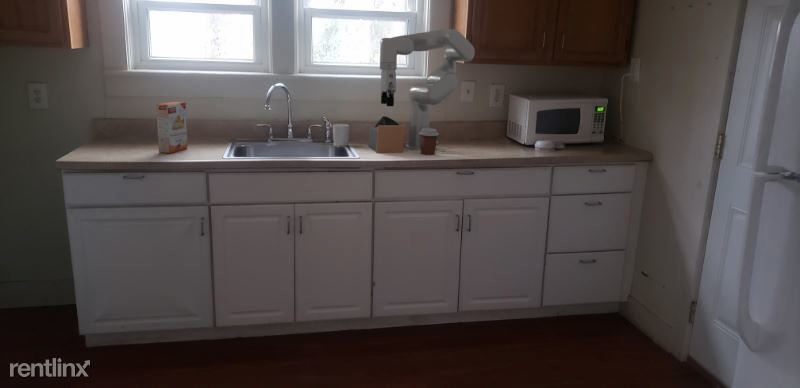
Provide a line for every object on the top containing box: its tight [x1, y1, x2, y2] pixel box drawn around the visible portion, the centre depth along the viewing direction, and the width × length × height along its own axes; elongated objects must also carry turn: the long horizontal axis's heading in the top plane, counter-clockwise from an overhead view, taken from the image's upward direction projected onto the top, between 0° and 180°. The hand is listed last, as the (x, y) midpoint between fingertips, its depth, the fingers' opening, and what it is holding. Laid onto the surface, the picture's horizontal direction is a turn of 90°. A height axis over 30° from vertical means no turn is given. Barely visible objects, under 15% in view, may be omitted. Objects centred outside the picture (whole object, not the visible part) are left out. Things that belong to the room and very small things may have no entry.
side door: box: [375, 124, 406, 154], centre depth 274 cm, size 13×1×13 cm, turn 108°
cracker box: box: [156, 101, 188, 154], centre depth 261 cm, size 14×6×21 cm, turn 168°
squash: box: [374, 115, 400, 127], centre depth 299 cm, size 14×15×15 cm
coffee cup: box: [419, 127, 440, 156], centre depth 276 cm, size 9×9×12 cm
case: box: [368, 126, 378, 153], centre depth 283 cm, size 12×14×10 cm
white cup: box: [332, 123, 350, 147], centre depth 291 cm, size 8×8×10 cm
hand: (387, 104), depth 273 cm, fingers open, 9 cm apart
